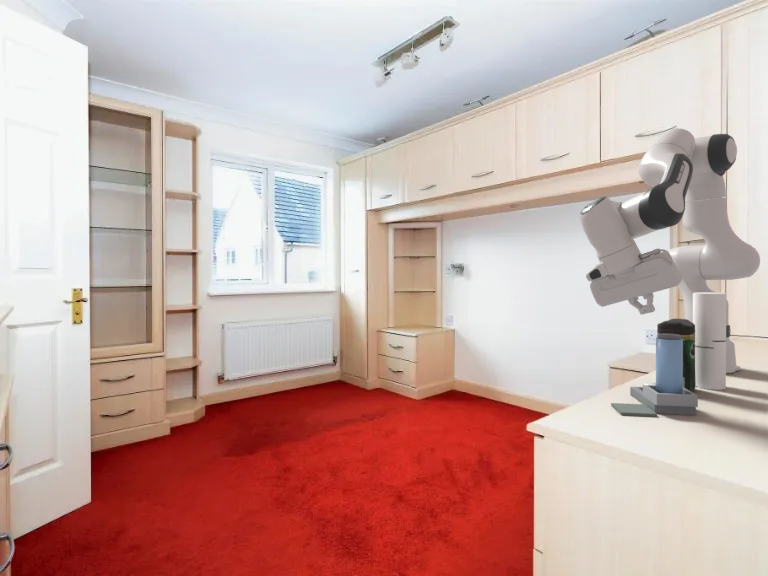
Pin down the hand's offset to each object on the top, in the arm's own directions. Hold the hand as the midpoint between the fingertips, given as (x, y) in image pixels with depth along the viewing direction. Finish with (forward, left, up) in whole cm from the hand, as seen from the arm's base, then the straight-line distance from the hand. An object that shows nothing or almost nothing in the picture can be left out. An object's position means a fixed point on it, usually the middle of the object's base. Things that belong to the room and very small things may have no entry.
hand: (648, 312), depth 106 cm
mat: (+11, -7, -21) cm, 25 cm away
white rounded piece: (0, +1, -20) cm, 21 cm away
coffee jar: (-10, +10, -21) cm, 25 cm away
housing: (+4, +1, -21) cm, 21 cm away
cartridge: (+9, +1, -19) cm, 21 cm away
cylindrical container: (-15, +20, -21) cm, 33 cm away
